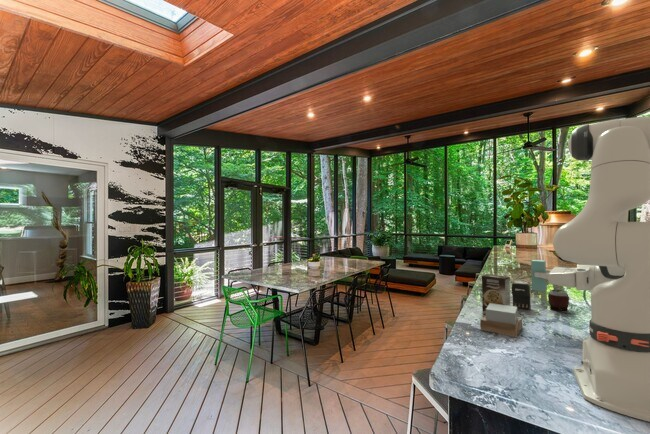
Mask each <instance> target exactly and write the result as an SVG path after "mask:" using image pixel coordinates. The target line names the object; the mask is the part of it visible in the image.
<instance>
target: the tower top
mask: <svg viewBox="0 0 650 434" xmlns="http://www.w3.org/2000/svg"><path fill="white" fill-rule="evenodd" d="M485 315H486V320H488V321H494V322H500V323H507V324H513V325H516V321H517V317H518V308H517V307H515V306H513V305H510V306H508V305H500V304H492V303H489V305H488V306H487V308H486V314H485Z"/></svg>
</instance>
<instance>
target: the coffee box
mask: <svg viewBox="0 0 650 434" xmlns="http://www.w3.org/2000/svg"><path fill="white" fill-rule="evenodd" d="M481 300H482V301H481V302H482V303H481V304H482V314H484V315H486V308H487V306H488V305H489V303H492V304H500V305H508V306H511V276H506V275H498V274H489V273H486V274H483V275H481Z"/></svg>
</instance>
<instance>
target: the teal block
mask: <svg viewBox="0 0 650 434" xmlns="http://www.w3.org/2000/svg"><path fill="white" fill-rule="evenodd" d="M530 262H531V263H530V265H531V266H530V268H531V269H530V270H531V289H532V290H531V291H540V292H546V291H547V290H548V289H547V279H544V278H540V277H535V272H541V273H546V270H547V267H546V266H547V265H546V264H547V263H546V259H545V260H543V259H542V260H541V259H532V260H530Z"/></svg>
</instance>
